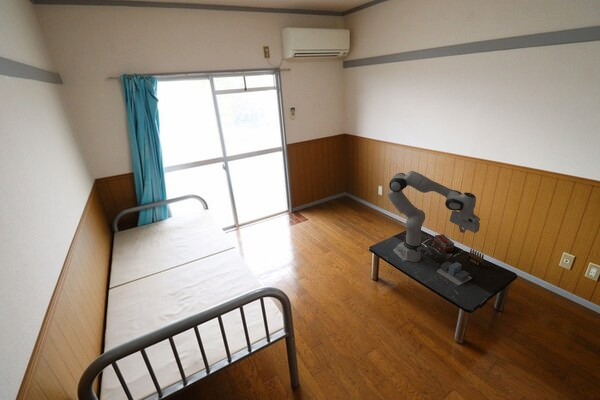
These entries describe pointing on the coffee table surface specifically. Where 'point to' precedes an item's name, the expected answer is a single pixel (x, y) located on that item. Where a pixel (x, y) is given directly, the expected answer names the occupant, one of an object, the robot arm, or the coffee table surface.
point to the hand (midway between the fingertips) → (462, 232)
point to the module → (454, 269)
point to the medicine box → (443, 243)
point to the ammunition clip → (475, 258)
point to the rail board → (458, 278)
